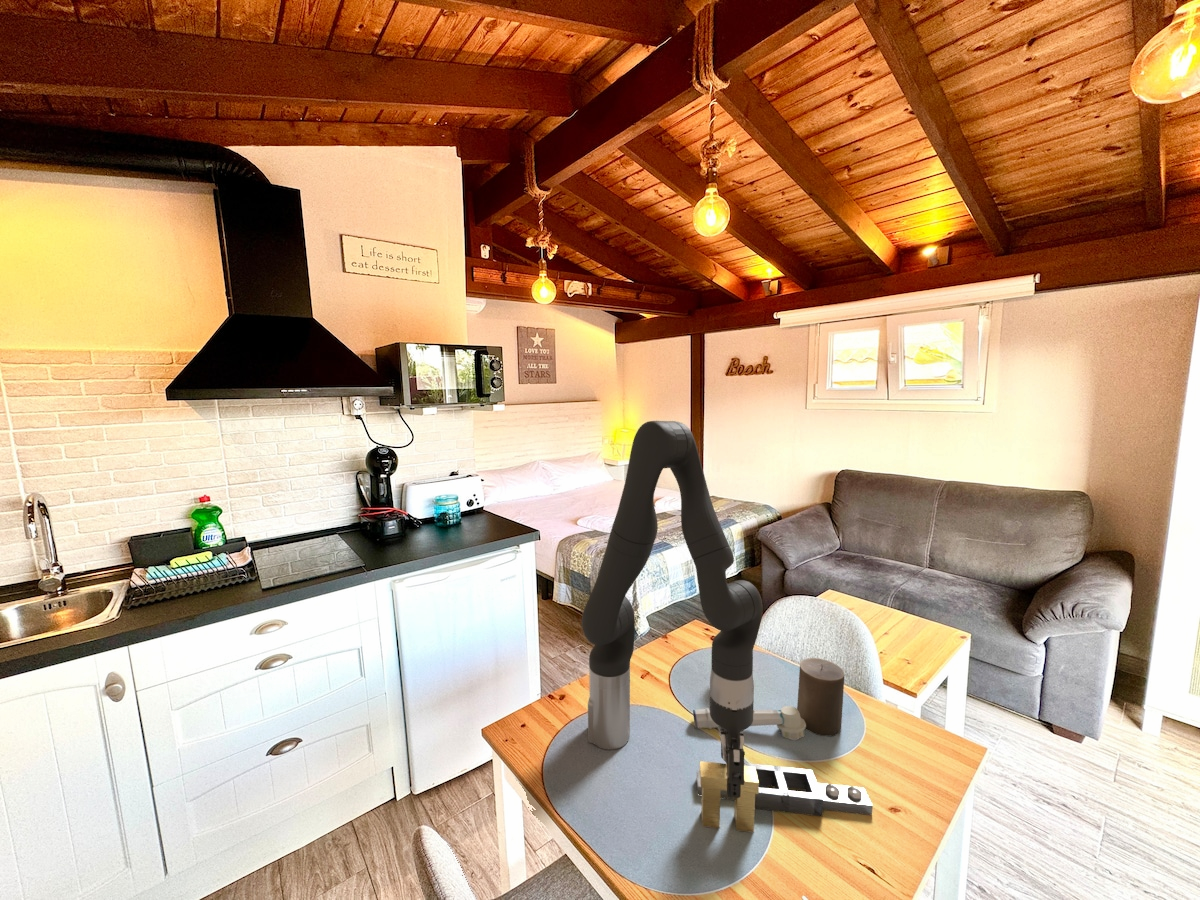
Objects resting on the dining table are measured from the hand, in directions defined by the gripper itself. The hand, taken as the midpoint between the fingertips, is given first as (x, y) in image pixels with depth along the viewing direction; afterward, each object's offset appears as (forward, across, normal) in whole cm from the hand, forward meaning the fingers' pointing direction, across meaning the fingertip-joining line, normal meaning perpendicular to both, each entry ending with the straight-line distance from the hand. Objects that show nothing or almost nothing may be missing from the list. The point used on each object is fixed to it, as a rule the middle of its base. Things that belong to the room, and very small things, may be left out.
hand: (730, 776), depth 86 cm
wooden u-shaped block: (+9, 0, 0) cm, 9 cm away
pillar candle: (+10, -30, +25) cm, 40 cm away
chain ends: (+9, -7, +11) cm, 16 cm away
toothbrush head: (+10, -25, +8) cm, 28 cm away
